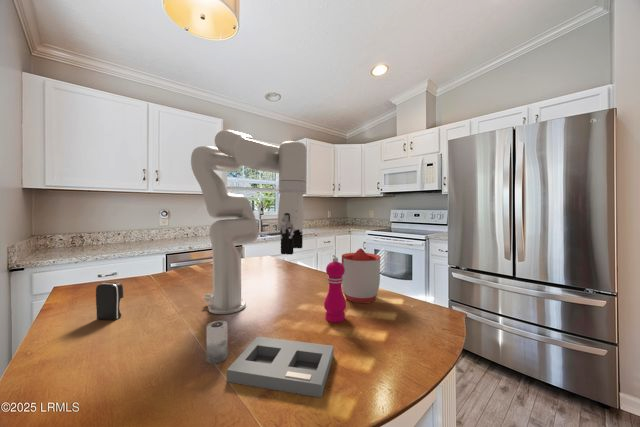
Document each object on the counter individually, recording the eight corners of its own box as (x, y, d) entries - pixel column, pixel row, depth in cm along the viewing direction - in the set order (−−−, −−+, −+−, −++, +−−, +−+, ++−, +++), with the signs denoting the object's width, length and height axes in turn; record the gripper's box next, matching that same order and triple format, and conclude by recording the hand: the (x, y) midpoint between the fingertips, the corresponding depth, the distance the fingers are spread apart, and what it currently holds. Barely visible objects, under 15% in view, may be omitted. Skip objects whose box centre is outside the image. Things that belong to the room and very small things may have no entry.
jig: (226, 381, 53) (226, 368, 53) (257, 345, 66) (257, 335, 66) (321, 397, 48) (321, 383, 48) (333, 355, 62) (333, 344, 62)
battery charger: (125, 315, 85) (125, 281, 84) (115, 320, 81) (114, 284, 80) (106, 314, 85) (105, 280, 85) (95, 319, 81) (94, 284, 81)
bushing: (202, 362, 59) (202, 328, 59) (214, 351, 64) (214, 319, 64) (220, 365, 58) (219, 330, 58) (231, 353, 63) (231, 321, 63)
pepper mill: (344, 324, 79) (345, 259, 79) (322, 322, 80) (322, 258, 80) (347, 314, 86) (347, 255, 86) (326, 312, 88) (326, 254, 87)
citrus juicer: (335, 291, 110) (335, 245, 109) (376, 292, 109) (376, 245, 109) (336, 305, 94) (337, 251, 93) (384, 306, 93) (385, 252, 93)
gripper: (288, 190, 79) (288, 245, 80) (267, 186, 62) (267, 256, 63) (312, 190, 78) (312, 246, 78) (297, 185, 61) (297, 257, 61)
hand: (292, 250), depth 70 cm, fingers open, 9 cm apart
